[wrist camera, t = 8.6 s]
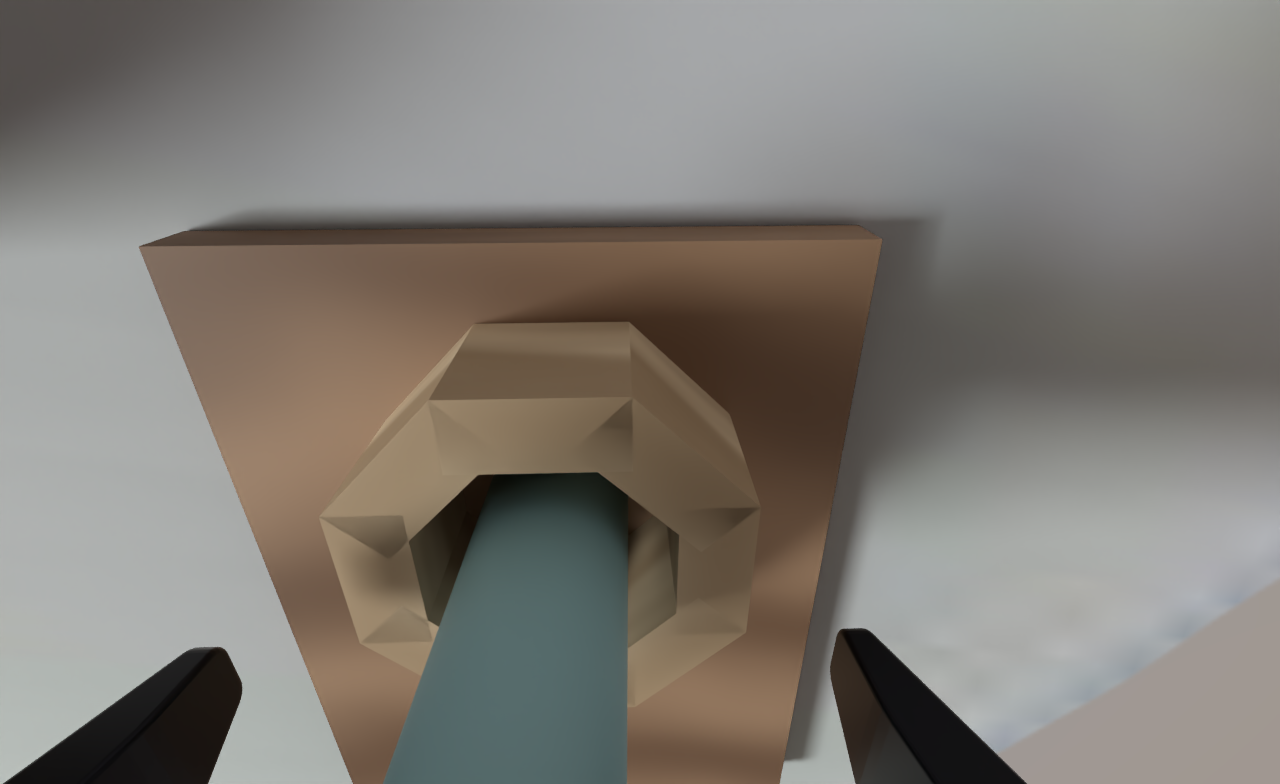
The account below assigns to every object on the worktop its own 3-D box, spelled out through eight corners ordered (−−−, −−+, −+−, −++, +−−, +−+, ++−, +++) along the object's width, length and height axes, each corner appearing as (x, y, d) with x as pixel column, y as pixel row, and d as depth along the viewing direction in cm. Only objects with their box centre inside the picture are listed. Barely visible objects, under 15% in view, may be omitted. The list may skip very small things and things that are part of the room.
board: (767, 764, 20) (775, 802, 19) (380, 777, 20) (366, 817, 19) (858, 225, 12) (882, 239, 11) (184, 231, 11) (138, 246, 10)
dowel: (629, 527, 13) (627, 1410, 4) (504, 528, 13) (247, 1422, 4) (627, 419, 12) (619, 1352, 3) (490, 421, 12) (85, 1367, 3)
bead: (715, 589, 14) (737, 704, 12) (427, 596, 14) (383, 715, 12) (737, 320, 11) (774, 394, 8) (363, 325, 11) (281, 403, 8)
